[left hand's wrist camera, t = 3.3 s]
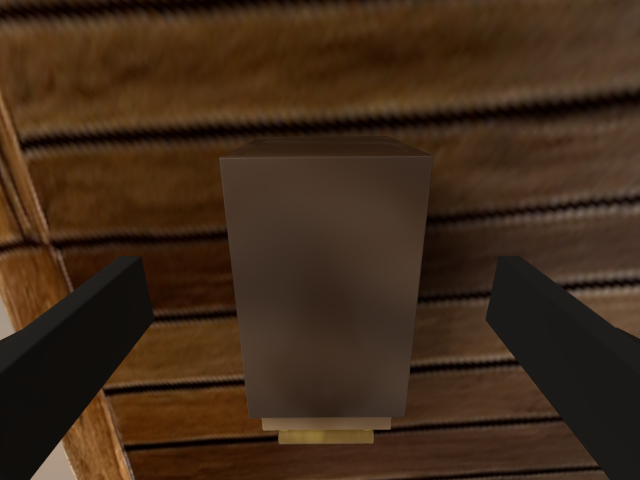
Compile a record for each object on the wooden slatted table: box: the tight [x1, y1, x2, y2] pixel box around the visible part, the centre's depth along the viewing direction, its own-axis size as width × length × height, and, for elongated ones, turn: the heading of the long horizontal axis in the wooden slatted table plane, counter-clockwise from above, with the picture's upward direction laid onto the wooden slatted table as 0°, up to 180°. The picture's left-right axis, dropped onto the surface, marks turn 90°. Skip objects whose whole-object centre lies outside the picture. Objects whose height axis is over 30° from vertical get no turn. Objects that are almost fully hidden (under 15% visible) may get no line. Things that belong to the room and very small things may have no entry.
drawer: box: [262, 417, 392, 444], centre depth 26 cm, size 21×9×10 cm, turn 1°
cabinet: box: [219, 136, 433, 418], centre depth 24 cm, size 17×10×11 cm, turn 1°
